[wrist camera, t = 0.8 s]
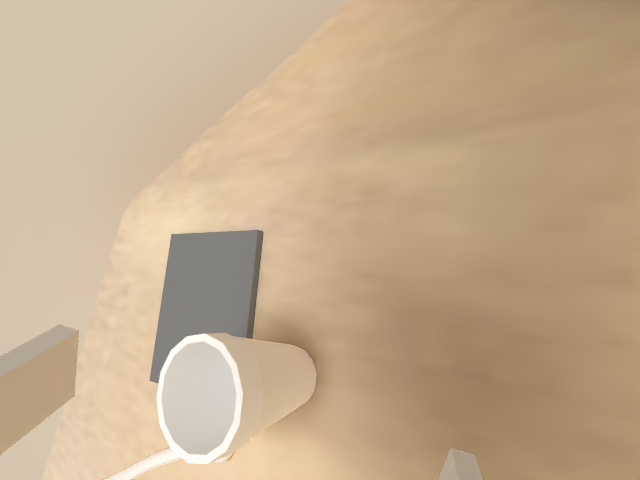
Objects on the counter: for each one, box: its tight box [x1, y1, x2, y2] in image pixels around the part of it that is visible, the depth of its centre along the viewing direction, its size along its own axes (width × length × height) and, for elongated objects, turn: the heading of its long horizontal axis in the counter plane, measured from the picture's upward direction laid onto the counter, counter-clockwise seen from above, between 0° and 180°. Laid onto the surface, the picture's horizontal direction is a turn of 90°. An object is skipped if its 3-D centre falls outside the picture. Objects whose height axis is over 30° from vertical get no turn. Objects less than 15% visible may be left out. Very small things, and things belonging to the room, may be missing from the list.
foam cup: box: [156, 333, 317, 464], centre depth 34 cm, size 10×9×13 cm
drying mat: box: [150, 230, 263, 383], centre depth 47 cm, size 20×16×1 cm
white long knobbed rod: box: [103, 448, 234, 480], centre depth 46 cm, size 28×4×3 cm, turn 114°
